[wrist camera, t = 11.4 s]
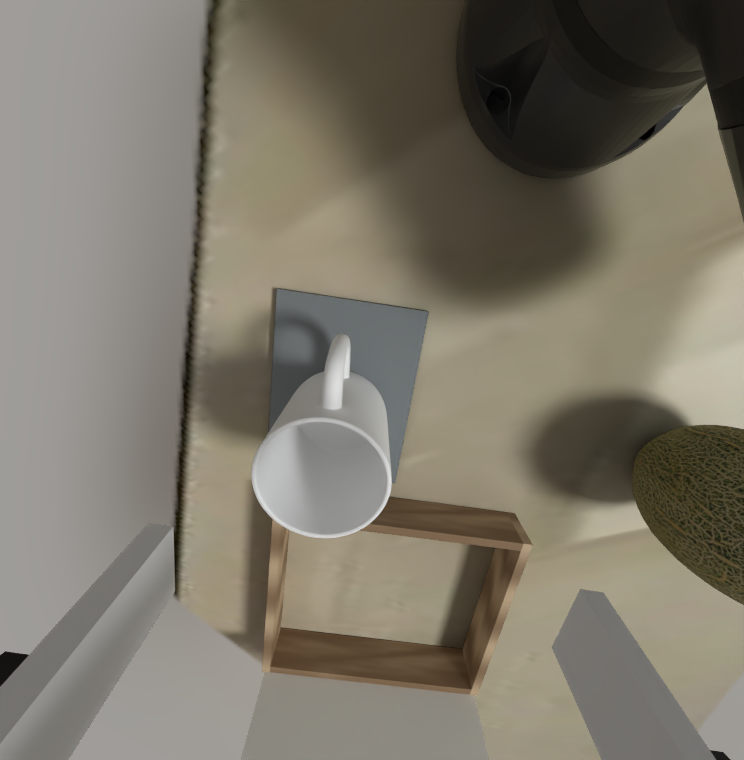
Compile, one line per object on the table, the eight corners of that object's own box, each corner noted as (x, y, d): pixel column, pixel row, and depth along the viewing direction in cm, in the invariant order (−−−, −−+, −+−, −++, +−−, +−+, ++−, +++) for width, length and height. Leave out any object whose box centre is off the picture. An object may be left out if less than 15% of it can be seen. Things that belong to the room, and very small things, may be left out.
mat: (278, 288, 27) (276, 288, 27) (427, 311, 28) (428, 312, 27) (268, 462, 32) (266, 466, 32) (394, 479, 32) (394, 483, 32)
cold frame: (284, 483, 33) (273, 511, 29) (514, 513, 34) (532, 544, 30) (273, 632, 39) (261, 671, 35) (467, 654, 40) (477, 695, 36)
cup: (289, 449, 31) (250, 531, 21) (295, 316, 27) (252, 343, 18) (380, 459, 31) (382, 545, 22) (398, 329, 27) (411, 362, 18)
